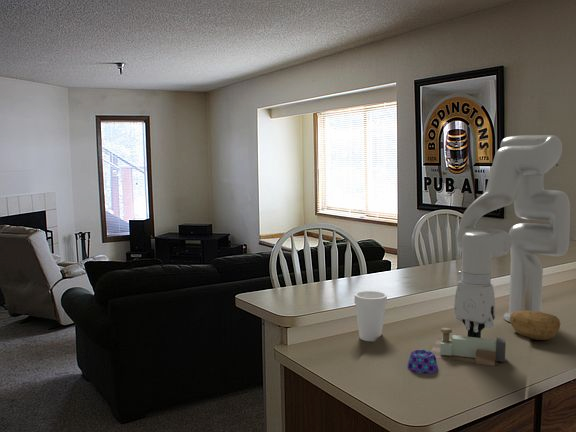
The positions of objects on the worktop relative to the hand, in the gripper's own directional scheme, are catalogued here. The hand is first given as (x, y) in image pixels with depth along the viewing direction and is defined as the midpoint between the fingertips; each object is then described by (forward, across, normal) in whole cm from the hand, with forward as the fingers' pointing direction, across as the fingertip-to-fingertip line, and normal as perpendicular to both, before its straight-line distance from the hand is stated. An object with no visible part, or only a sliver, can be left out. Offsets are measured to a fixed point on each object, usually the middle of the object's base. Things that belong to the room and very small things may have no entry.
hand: (473, 344), depth 153 cm
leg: (+1, +3, -5) cm, 6 cm away
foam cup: (+3, -27, -12) cm, 30 cm away
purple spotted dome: (+3, -1, -21) cm, 21 cm away
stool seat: (+3, -1, -3) cm, 4 cm away
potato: (+3, +4, +24) cm, 25 cm away
